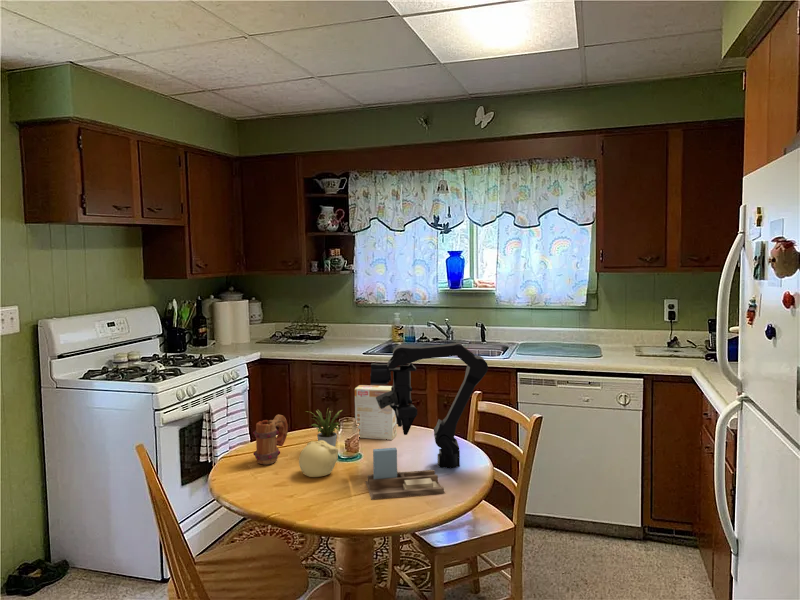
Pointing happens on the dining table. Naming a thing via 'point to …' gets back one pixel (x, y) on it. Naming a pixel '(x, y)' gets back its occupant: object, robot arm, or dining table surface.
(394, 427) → the coffeecake box
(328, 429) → the house plant
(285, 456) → the dining table surface
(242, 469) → the dining table surface
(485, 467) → the dining table surface
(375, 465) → the light blue block
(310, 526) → the dining table surface
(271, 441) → the mug
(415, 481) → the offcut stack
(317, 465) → the sculpture
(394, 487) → the rack
